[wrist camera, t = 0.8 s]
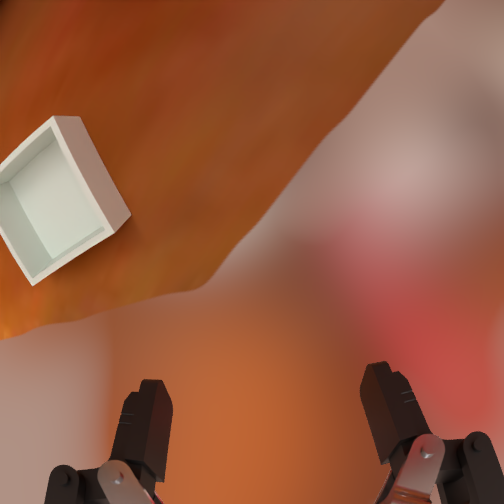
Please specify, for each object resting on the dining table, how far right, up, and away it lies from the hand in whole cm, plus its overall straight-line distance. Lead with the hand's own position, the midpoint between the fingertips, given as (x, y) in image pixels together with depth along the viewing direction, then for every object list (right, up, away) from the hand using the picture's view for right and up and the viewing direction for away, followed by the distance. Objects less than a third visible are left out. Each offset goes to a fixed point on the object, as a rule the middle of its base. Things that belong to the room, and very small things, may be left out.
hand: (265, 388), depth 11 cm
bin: (-25, +13, +23) cm, 36 cm away
